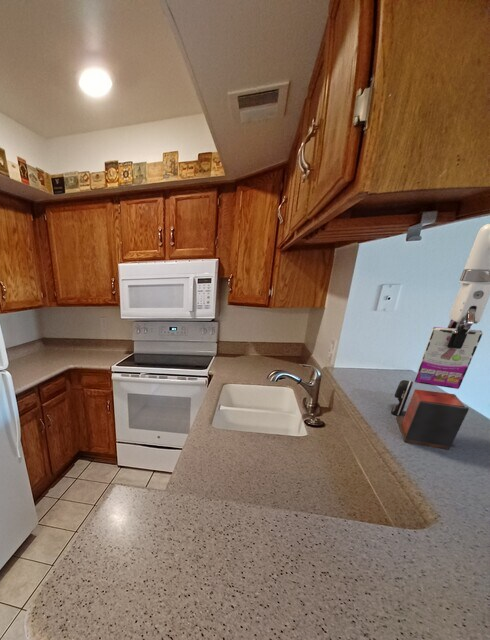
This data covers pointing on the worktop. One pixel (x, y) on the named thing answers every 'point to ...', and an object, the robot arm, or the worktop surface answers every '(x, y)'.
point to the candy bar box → (446, 358)
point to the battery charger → (402, 396)
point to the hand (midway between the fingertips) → (451, 345)
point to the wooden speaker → (432, 419)
